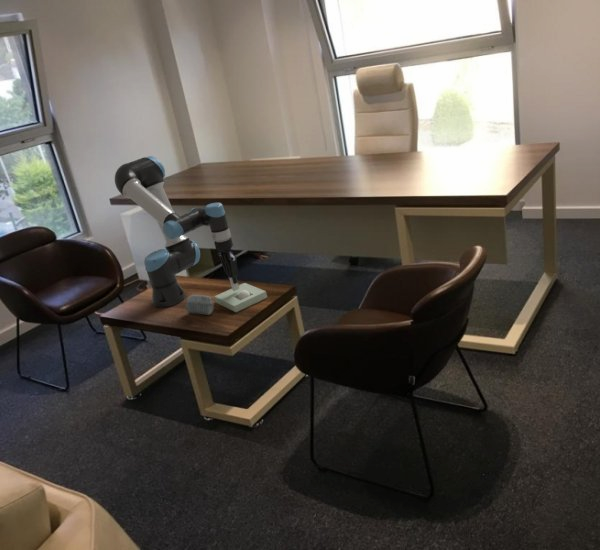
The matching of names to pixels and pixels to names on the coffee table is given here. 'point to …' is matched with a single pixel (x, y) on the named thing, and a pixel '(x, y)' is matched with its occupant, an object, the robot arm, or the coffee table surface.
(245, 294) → the ball
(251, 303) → the green board
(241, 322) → the coffee table surface
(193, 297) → the grey streaked egg
